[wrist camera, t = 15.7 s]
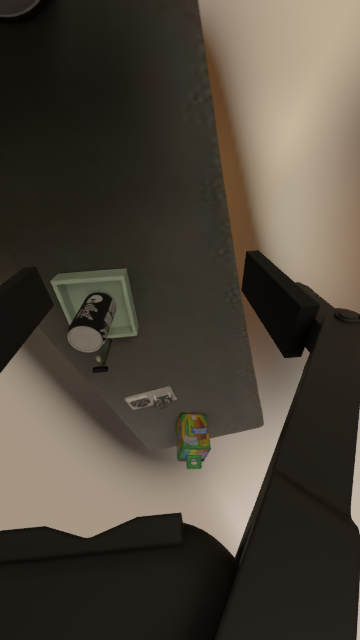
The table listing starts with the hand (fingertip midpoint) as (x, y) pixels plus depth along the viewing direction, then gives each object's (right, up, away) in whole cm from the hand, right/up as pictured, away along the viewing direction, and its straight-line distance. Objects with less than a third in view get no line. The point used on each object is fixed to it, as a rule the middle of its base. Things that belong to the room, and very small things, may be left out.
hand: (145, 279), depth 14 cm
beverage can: (-15, +1, +33) cm, 36 cm away
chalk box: (+6, -38, +63) cm, 74 cm away
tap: (-14, -6, +38) cm, 41 cm away
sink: (-15, +1, +33) cm, 36 cm away
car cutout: (-7, -27, +54) cm, 61 cm away
